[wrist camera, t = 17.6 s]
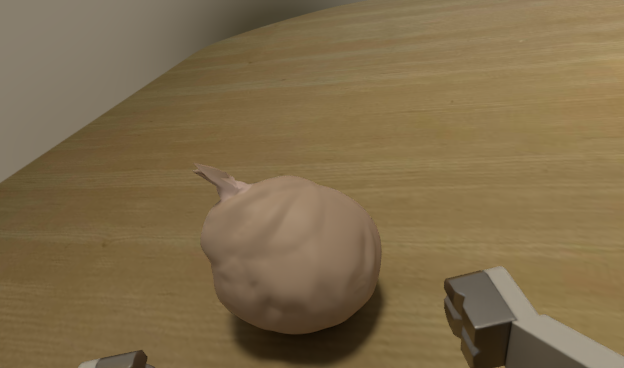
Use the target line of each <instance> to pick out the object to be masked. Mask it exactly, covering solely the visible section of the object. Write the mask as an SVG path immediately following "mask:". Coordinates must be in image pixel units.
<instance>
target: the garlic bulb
mask: <svg viewBox="0 0 624 368" xmlns="http://www.w3.org/2000/svg"><path fill="white" fill-rule="evenodd" d="M194 164H195V165H196V166H197V167H198V168H199V169H198V170H192V171H193V172H195V173H196V174H198V175H200V176H201V177H203V178H204V179H206V180H207V181H209V182H211V183H212V184H214V185H215V186H217V191H218V194H219V196H220V198H221V200H220V201H219V202H218V203H216V204H215V205H214V206H213V208H212V209H211V210H210V212H209V213H208V215H207V217H206V219H205V222H204V226H203V230H202V233H201V247H202V250H203V251H204V253H205V254H206V256H207V257H208V259H209V260H210V263H211V267H212V273H213V279H214V286H215V291H216V294H217V297H218V299H219V300H220V302H221V303H222V304H223V305H224V306H225V307H226V308H227V309H228V310H229V311H230V312H231V313H233V314H234V315H236V316H237V317H239V318H241V319H242V320H244V321H246V322H247V323H249V324H252V325H254V326H256V327H258V328H261V329H264V330H270V331H275V332H279V333H284V334H306V333H312V332H316V331H319V330H322V329H325V328H328V327H332V326H335V325H338V324H340V323H342V322H344V321H345V320H347V319H348V318H349V317H351V316H352V315H353V314H354V313H355V312H356V311H358V310H359V309H360V308H361V307H362V306H363V305H364V304H365V303H366V302H367V301H368V300H369V299H370V297H371V296H372V294H373V292H374V290H375V287H376V284H377V280H378V277H379V272H380V265H381V241H380V236H379V232H378V229H377V227H376V225H375V223H374V221H373V220H372V218H371V217H370V215H369V214H368V213H367V212H366V210H365V209H364V208H363V207H362V206H361V205H360V204H358V203H357V202H356V201H355V200H353V199H352V198H350V197H348V196H347V195H345V194H343V193H341V192H339V191H337V190H335V189H333V188H329V187H325V186H321V185H318V184H316V183H314V182H312V181H310V180H307V179H305V178H301V177H297V176H279V177H275V178H270V179H266V180H263V181H261V182H257V183H253V184H246V183H244V182H240V181H234V177H232V176H230V175H229V174H227V173H226V172H223V171H221V170H219V169H216V168H214V167H210V166H206V165H201V164H196V163H194Z"/></svg>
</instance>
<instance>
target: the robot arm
mask: <svg viewBox="0 0 624 368" xmlns="http://www.w3.org/2000/svg"><path fill="white" fill-rule="evenodd" d="M444 289H445V291H446V293H447V296H446V298H445V299H444V309H445V313H446V318H447V320H448V323H449V326H450V328H451V330H452V332H453V334H454V335H455V336H457V337H459V338H460V339H461V351H462V353H463V355H464V357H465V359H466V361H467V363H468V365H469V367H470V368H496V367H500V366H505V368H624V356H622V355H620V354H618V353H616V352H614V351H612V350H611V349H609V348H607V347H605V346H603V345H601V344H599V343H598V342H596V341H594V340H592V339H590V338H588V337H586V336H585V335H583V334H581V333H579V332H577V331H575V330H573V329H572V328H570V327H568V326H566V325H564V324H562V323H560V322H559V321H557V320H555V319H553V318H551V317H549V316H547V315H546V314H543V315H539V314H538V313H537V312H536V310H535V309H534V307H533V306H532V305H531V303H530V302H529V301H528V299H527V298H526V296H525V295H524V294H523V292H522V291H521V289H520V288H519V287H518V285H517V284H516V283H515V281H514V280H513V278H512V277H511V276H510V274H509V273H508V271H507V270H506V269H505V268H504V267H502V266H499V267H495V268H490V269H486V270H482V271H481V270H480V271H476V272H472V273H468V274H464V275H460V276H455V277H451V278H447V279H445V281H444ZM146 362H147V356H146V355H145V353H144V352H143V351H142V350H139V351H134V352H129V353H124V354H119V355H114V356H110V357H105V358H100V359H95V360H91V361H86V362H82V363H81V364H80V365H79V367H78V368H155V367H154V366H151V365H149V364H146Z"/></svg>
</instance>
